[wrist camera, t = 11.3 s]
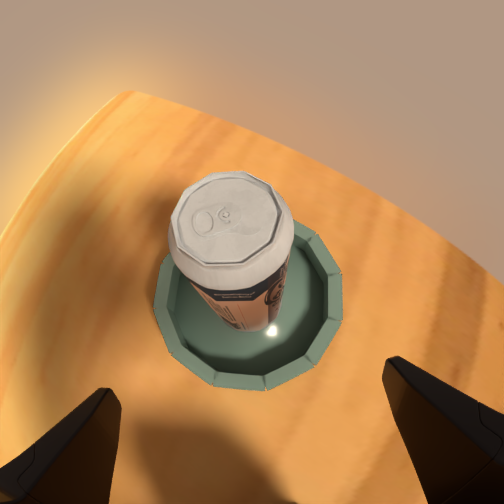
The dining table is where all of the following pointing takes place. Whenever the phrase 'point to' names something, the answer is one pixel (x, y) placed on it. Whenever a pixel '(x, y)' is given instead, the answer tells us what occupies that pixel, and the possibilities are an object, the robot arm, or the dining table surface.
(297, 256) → the bowl
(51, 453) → the robot arm
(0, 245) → the dining table surface
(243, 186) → the beer can
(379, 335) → the dining table surface
